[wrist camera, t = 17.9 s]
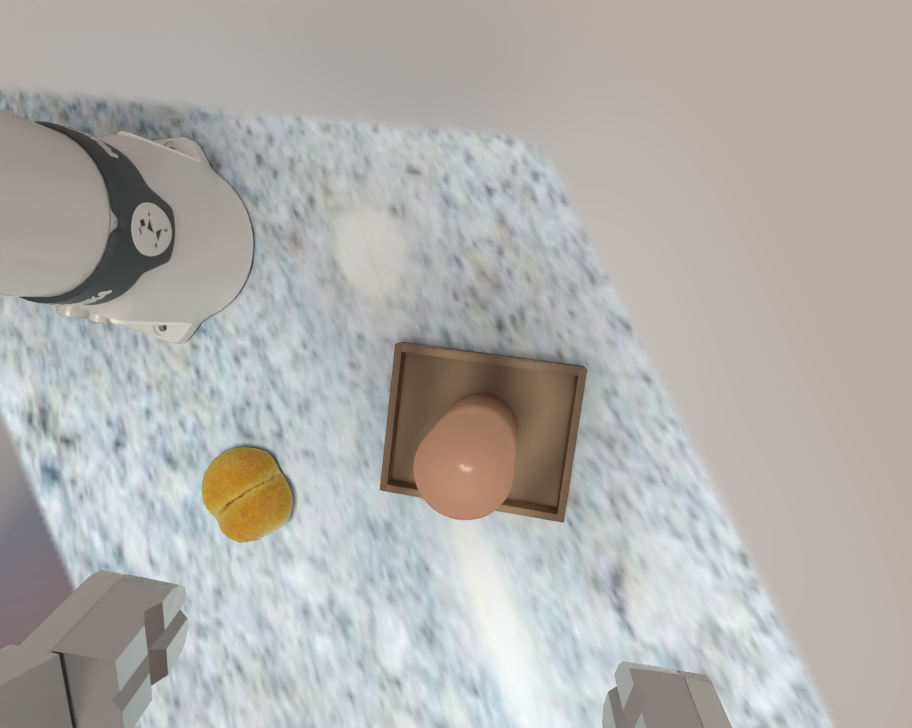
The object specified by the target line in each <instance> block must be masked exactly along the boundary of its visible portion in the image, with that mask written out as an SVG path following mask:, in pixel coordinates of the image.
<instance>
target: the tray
mask: <svg viewBox="0 0 912 728" xmlns="http://www.w3.org/2000/svg"><path fill="white" fill-rule="evenodd" d="M586 373H587V369H586V368H585V367H584V366H578V365H570V364H563V363H555V362H548V361H540V360H533V359H525V358H518V357H510V356H503V355H495V354H488V353H480V352H473V351H465V350H458V349H450V348H443V347H435V346H428V345H420V344H413V343H405V342H401V343H397V344H395V352H394V362H393V371H392V380H391V390H390V399H389V408H388V418H387V427H386V437H385V446H384V455H383V465H382V474H381V484H380V490H382V491H387V492H393V493H399V494H404V495H410V496H416V497H421V498H423V497H422V496H421V494H420V492H419V490H418V488H417V485H416V482H415V478H414V470H413V468H414V459H415V455H416V452H417V450H418V448H419V446H420V444H421V442H422V441H423V439H424V438H425V437H426V436H427V435H428V434H429V432H430V431H431V430H432V429H433V428H434V427H435V425H436V424H437V423H438V422H439V421H440V420H441V418H442V417H443V416H444V415H445V414H446V413H447V411H448V410H449V409H450V408H451V407H452V406H453V404H454V403H455V402H456V401H458V400H459V399H460V398H462V397H464V396H466V395H469V394H473V393H487V394H491V395H494V396H496V397H498V398H500V399H501V400H503V401H504V402H505V403H506V404H507V405H508V406H509V407H510V408H511V410H512V411H513V413H514V415H515V418H516V421H517V428H518V432H517V443H516V454H515V465H514V476H513V483H512V487H511V490H510V492H509V494H508V496H507V498H506V499H505V501H504V502H503V503H502V504H501V506H500V507H499V508H497V509H496V510H495V511H501V512H507V513H512V514H518V515H524V516H529V517H535V518H541V519H546V520H552V521H558V522H563V523H564V517H565V510H566V504H567V497H568V491H569V484H570V478H571V471H572V465H573V458H574V451H575V445H576V438H577V432H578V425H579V419H580V412H581V406H582V399H583V392H584V386H585V379H586Z"/></svg>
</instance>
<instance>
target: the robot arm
mask: <svg viewBox="0 0 912 728" xmlns="http://www.w3.org/2000/svg"><path fill="white" fill-rule="evenodd" d="M252 257H253V233H252V227H251V223H250V219H249V216H248V213H247V211H246V209H245V206H244V204H243V203H242V201H241V199H240V198H239V196H238V195H237V193H236V192H235V191H234V189H233V188H232V187H231V186H230V185H229V184H228V183H227V182H226V181H225V180H224V179H222V178H221V177H220V176H219V175H218V174H217V173H216V172H215V171H214V170H213V169H212V168H211V167H210V165H209V162H208V160H207V158H206V156H205V154H204V152H203V151H202V149H201V147H200V146H199V145H198V143H197V142H195V141H194V140H192V139H189V138H186V137H175V138H168V139H161V140H155V141H151V140H148V139H145V138H143V137H140V136H137V135H135V134H132V133H129V132H125V131H119V132H118V133H117V135H105V136H101V137H97V138H95V137H93V136H91V135H88V134H87V133H84V132H81V131H79V130H76V129H73V128H69V127H68V128H67V127H64V126H60V125H57V124H53V123H49V122H32V121H30V120H27V119H25V118H22V117H20V116H17V115H15V114H12V113H9V112H7V111H4V110H2V109H0V296H18V297H21V298H23V299H26V300H29V301H33V302H37V303H45V304H50V305H52V304H53V305H56V306H57V308H56V311H57V314H59V315H63V316H67V317H72V318H87V317H88V316H89V320H90V321H93V322H97V323H108V322H109V321H111V322H112V323H114V324H120V325H123V326H126V327H128V328H131V329H134V330H137V331H139V332H142V333H145V334H148V335H150V336H153V337H156V338H159V339H161V340H164V341H167V342H170V343H184V342H186V341H187V340H188V339H189V338H190V337H191V336H192V335H193V333H194V332H195V331H196V329H197V328H198V326H199V325H200V323H201V322H203V321H204V320H205V319H207V318H208V317H210V316H212V315H214V314H215V313H217V312H219V311H220V310H222V309H223V308H224V307H226V306H227V305H228V304H229V303H230V302H231V301H232V300H233V299H234V298H235V297H236V296H237V294H238V293H239V291H240V290H241V288H242V287H243V285H244V283H245V281H246V279H247V276H248V274H249V271H250V267H251V263H252ZM89 313H90V315H89ZM164 325H166V326H167V329H166V330H165V329H164ZM185 601H186V593H185V587H184V586H181V585H177V584H172V583H167V582H162V581H157V580H152V579H148V578H143V577H138V576H133V575H127V574H122V573H116V572H111V571H106V570H100V571H98V572H96V573H94V574H92V575H91V576H90V577H88V578H87V579H86V580H85V581H84V582H83V583H82V584H81V585H80V586H79V587H78V588H77V589H76V590H75V591H74V592H73V593H72V594H71V595H70V596H69V597H68V598H67V599H66V600H65V601H64V602H63V603H62V604H61V605H60V606H59V607H58V608H57V609H56V610H55V611H54V612H53V613H52V614H51V615H50V616H49V617H48V618H47V619H46V620H45V621H44V622H43V623H42V624H41V625H39V626H38V628H37V629H36V630H34V631H33V632H32V633H31V634H30V635H29V636H28V637H27V638H26V639H25V640H24V641H23V642H22V643H21V644H20V645H19V646H12V645H9V646H7V647H5V648H3V649H1V650H0V728H134V726H135V724H136V723H137V721H138V720H139V718H140V717H141V715H142V714H143V712H144V711H145V709H146V708H147V706H148V705H149V703H150V702H151V700H152V688H151V685H153V684H155V683H156V682H158V681H159V680H161V679H162V678H164V677H165V676H167V675H168V674H169V673H170V671H171V669H172V668H173V666H174V665H175V663H176V662H177V660H178V658H179V656H180V653H181V651H182V648H183V646H184V643H185V641H186V635H187V630H188V623H187V617H186V616H185V615H184V614H183V612H182V611H181V610H180V608H181V607H182V606H183V604H184V603H185ZM615 679H616V684H617V687H615V688H613V689H612V690H610V691H609V692H608V693H607V696H606V699H605V702H604V707H603V720H602V724H603V728H732V726H731V724H730V722H729V720H728V717H727V715H726V713H725V711H724V708H723V706H722V704H721V702H720V699H719V697H718V695H717V693H716V691H715V688H714V686H713V684H712V682H711V680H710V679H709V678H708V677H707V676H706V675H701V674H696V673H690V672H684V671H676V670H674V669H669V668H663V667H657V666H650V665H644V664H638V663H631V662H625V661H623V662H621V663H620V664H619V665H618V667H617V670H616V672H615Z"/></svg>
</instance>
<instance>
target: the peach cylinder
mask: <svg viewBox="0 0 912 728" xmlns="http://www.w3.org/2000/svg"><path fill="white" fill-rule="evenodd" d="M517 432H518V428H517V421H516V418H515V415H514V413H513V411H512V410H511V408H510V407H509V406H508V405H507V404H506V403H505V402H504V401H503V400H501V399H500V398H498V397H496V396H494V395H491V394H487V393H473V394H469V395H466V396H464V397H462V398H460V399H459V400H458V401H456V402H455V403H454V404H453V406H452V407H451V408H450V409H449V410H448V411H447V413H446V414H445V415H444V416H443V417H442V418H441V420H440V421H439V422H438V423H437V424H436V425H435V427H434V428H433V429H432V430H431V431H430V432H429V434H428V435H427V436H426V437H425V438H424V439H423V441H422V442H421V444H420V446H419V448H418V450H417V452H416V455H415V459H414V468H413V470H414V478H415V482H416V485H417V488H418V490H419V492H420V494H421V496H422V497H423V499H424V500H425V501H426V502H427V503H428V504H429V505H430V506H431V507H432V508H433V509H434V510H436V511H437V512H439V513H441V514H443V515H445V516H447V517H450V518H453V519H459V520H473V519H478V518H482V517H484V516H487V515H489V514H490V513H492V512H494V511H495V510H496V509H497V508H499V507H500V506H501V504H502V503H503V502H504V501H505V499H506V498H507V496H508V494H509V492H510V490H511V487H512V483H513V476H514V465H515V454H516V443H517Z"/></svg>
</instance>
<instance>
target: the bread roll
mask: <svg viewBox="0 0 912 728" xmlns="http://www.w3.org/2000/svg"><path fill="white" fill-rule="evenodd" d="M202 496H203V501H204V504H205V506H206V508H207V509H208V510H209V512H210V513H211V514H212V515H213V516H214V517H215V518H216V519H217V521H218V523H219V527H220V529H221V531H222V532H223V533H224V534H225V535H226V536H227V537H228V538H230V539H232V540H235V541H238V542H249V541H255V540H259V539H260V538H261V537H263V536H266V535H268V534H269V533H271V532H273V531H275V530H277V529H279V528H280V527H282V526H284V525H285V524H287V523H288V522H289V521H290V518H291V512H292V506H293V496H292V492H291V489H290V487H289V484H288V482H287V480H286V479H285V478H284V476H283V474H282V473H281V471H280V470H279V467H278V465H277V463H276V462H275V460H274V458H273V457H272V456H271V455H270V454H269V453H268V452H266V451H264V450H261V449H257V448H250V447H238V448H232V449H229V450H227V451H225V452H223V453H222V454H220V455H219V456H218V457H216V458H215V459H214V460H213V461H212V462H211V464H210V465H209V467H208V468H207V470H206V472H205V474H204V477H203V483H202Z"/></svg>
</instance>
